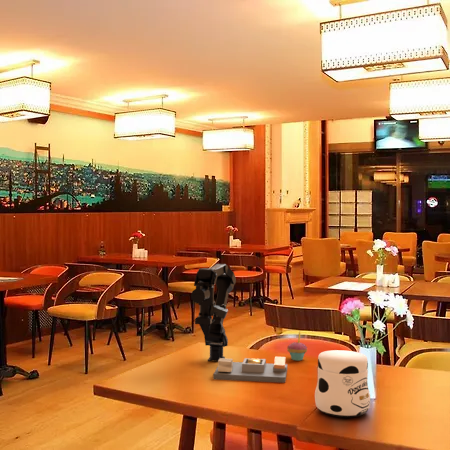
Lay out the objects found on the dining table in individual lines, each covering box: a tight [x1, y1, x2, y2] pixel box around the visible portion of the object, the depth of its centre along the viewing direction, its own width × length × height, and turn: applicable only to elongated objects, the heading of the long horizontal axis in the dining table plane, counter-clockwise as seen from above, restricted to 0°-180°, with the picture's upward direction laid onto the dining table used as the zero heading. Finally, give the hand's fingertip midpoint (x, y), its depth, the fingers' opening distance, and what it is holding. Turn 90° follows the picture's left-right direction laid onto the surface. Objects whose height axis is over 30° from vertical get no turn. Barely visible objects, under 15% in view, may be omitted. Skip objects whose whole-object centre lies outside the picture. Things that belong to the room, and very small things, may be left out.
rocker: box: [273, 356, 286, 369], centre depth 227 cm, size 7×4×1 cm, turn 171°
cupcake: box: [286, 331, 308, 362], centre depth 250 cm, size 9×8×12 cm
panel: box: [212, 357, 288, 384], centre depth 228 cm, size 18×27×5 cm, turn 81°
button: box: [248, 358, 261, 364], centre depth 228 cm, size 5×5×3 cm
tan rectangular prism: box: [217, 358, 234, 372], centre depth 225 cm, size 4×5×4 cm
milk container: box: [314, 349, 371, 419], centre depth 187 cm, size 17×17×18 cm
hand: (206, 337), depth 238 cm, fingers closed
